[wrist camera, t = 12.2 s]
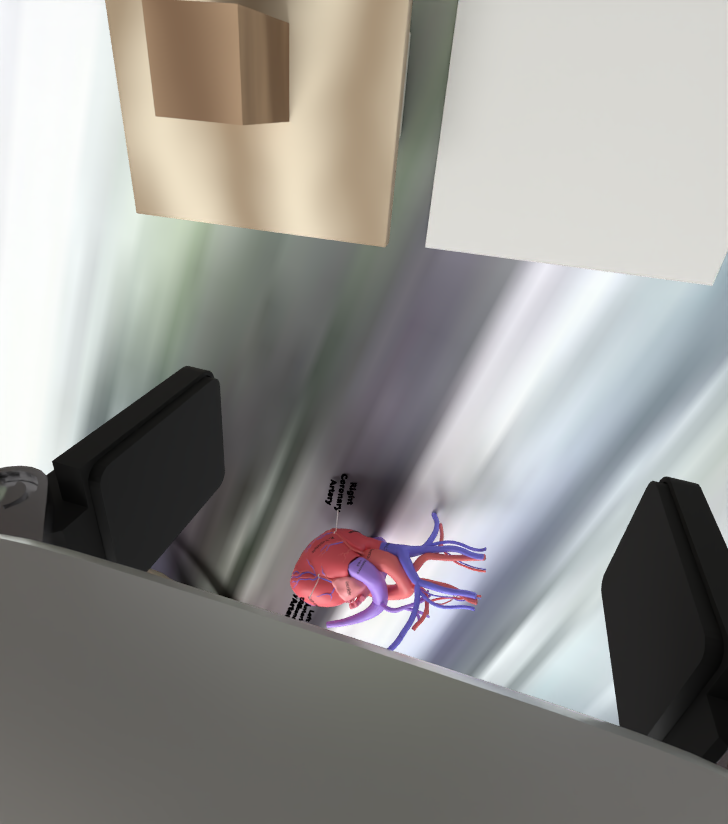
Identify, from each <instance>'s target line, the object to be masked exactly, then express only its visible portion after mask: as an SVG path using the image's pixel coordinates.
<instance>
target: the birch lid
mask: <svg viewBox="0 0 728 824" xmlns="http://www.w3.org/2000/svg"><path fill="white" fill-rule="evenodd" d="M412 2H413V0H105V3H106V9H107V16H108V23H109V30H110V36H111V43H112V50H113V57H114V63H115V70H116V77H117V84H118V90H119V97H120V104H121V111H122V117H123V124H124V131H125V138H126V144H127V151H128V158H129V165H130V171H131V178H132V185H133V192H134V199H135V205H136V212H137V213H140V214H147V215H154V216H161V217H169V218H176V219H183V220H191V221H198V222H205V223H213V224H220V225H227V226H234V227H242V228H249V229H256V230H264V231H271V232H278V233H286V234H293V235H300V236H307V237H315V238H322V239H329V240H337V241H344V242H351V243H359V244H366V245H373V246H380V247H386V246H387V245H388V243H389V236H390V225H391V215H392V205H393V195H394V185H395V175H396V165H397V154H398V144H399V134H400V124H401V114H402V104H403V94H404V83H405V73H406V63H407V53H408V43H409V33H410V23H411V12H412Z"/></svg>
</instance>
